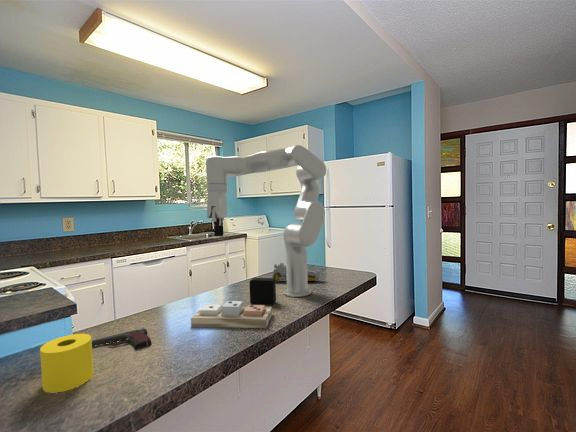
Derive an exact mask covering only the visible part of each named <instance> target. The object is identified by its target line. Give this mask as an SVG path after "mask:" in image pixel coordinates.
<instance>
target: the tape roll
mask: <svg viewBox="0 0 576 432" xmlns="http://www.w3.org/2000/svg"><path fill="white" fill-rule="evenodd" d="M92 341H93V340H92V335H91V334H87V333H75V334H68V335H64V336H61V337H57V338H54V339H52V340H50V341H48V342H45V343H44V344H42V346H41V347H40V348H39V353H40V354H39V355H40V364H41V365H40V367H41V370H40V371H41V381H42V382H41V383H42V384H41V385H42V391H43V390H44V391H47V392H61V391H67V390H70V389H73V388H75V387H77V386H80V385H82V384H84V383H85V382H87V381H88V380H89V379H91V378H92V379H93V377H94V375H93V374H94V359H93V358H94V357H93V346H92ZM92 376H93V377H92ZM92 379H91V380H92ZM88 382H89V381H88ZM88 382H87V383H88ZM85 384H86V383H85ZM85 384H84V385H85ZM82 386H83V385H82ZM80 387H81V386H80ZM73 390H74V389H73ZM44 391H43V392H44ZM70 391H71V390H70ZM67 392H68V391H67Z"/></svg>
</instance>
